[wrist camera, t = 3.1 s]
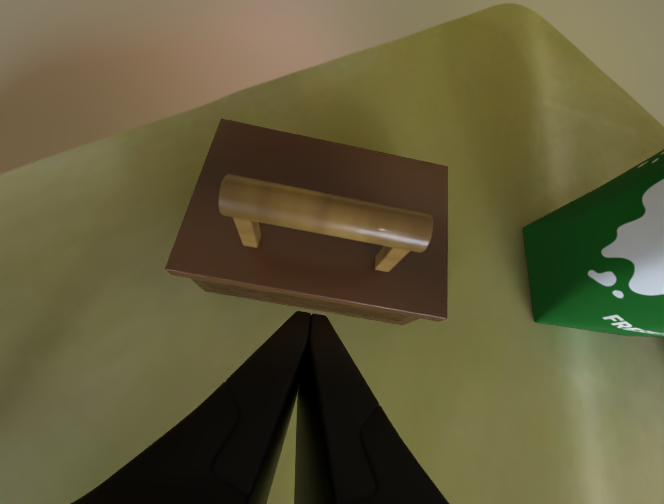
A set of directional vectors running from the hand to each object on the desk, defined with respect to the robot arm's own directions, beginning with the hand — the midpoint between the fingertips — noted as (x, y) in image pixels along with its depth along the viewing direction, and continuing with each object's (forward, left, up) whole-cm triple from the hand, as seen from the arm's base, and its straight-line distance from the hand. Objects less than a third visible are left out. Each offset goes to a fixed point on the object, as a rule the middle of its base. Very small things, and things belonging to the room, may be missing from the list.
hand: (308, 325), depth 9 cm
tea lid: (+4, -5, -5) cm, 8 cm away
